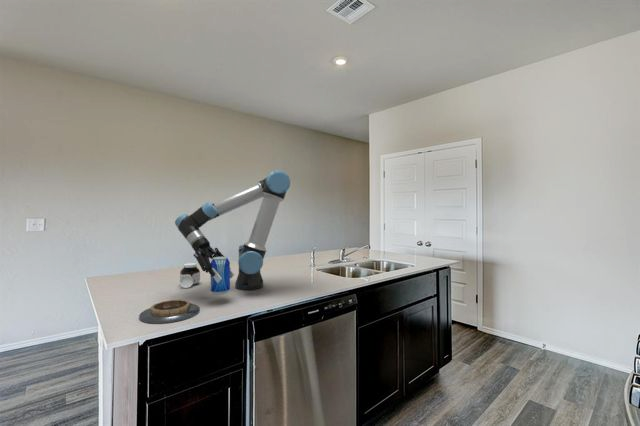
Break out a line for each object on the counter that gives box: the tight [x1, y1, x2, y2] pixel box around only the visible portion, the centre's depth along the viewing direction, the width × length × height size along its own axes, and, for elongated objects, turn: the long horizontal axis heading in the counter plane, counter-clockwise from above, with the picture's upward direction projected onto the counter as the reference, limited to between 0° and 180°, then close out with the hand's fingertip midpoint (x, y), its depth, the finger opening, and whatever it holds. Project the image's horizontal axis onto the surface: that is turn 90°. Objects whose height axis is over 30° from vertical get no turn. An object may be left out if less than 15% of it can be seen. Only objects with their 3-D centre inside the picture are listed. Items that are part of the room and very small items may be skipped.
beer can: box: [210, 256, 231, 296], centre depth 139 cm, size 8×8×16 cm
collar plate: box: [138, 299, 201, 325], centre depth 123 cm, size 22×22×4 cm
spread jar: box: [179, 262, 201, 289], centre depth 167 cm, size 12×11×12 cm
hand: (226, 278), depth 137 cm, fingers closed on beer can, 8 cm apart
